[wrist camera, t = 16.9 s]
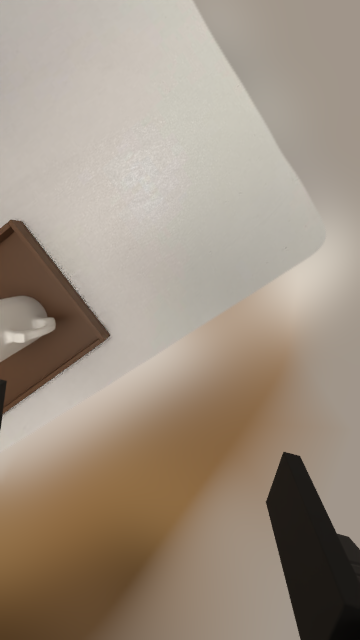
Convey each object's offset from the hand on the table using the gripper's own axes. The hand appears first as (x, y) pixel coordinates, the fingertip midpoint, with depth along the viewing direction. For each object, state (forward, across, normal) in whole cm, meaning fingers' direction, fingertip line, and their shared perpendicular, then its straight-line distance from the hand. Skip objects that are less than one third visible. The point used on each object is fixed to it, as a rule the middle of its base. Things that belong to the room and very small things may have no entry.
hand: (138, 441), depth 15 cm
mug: (+28, -18, -5) cm, 34 cm away
